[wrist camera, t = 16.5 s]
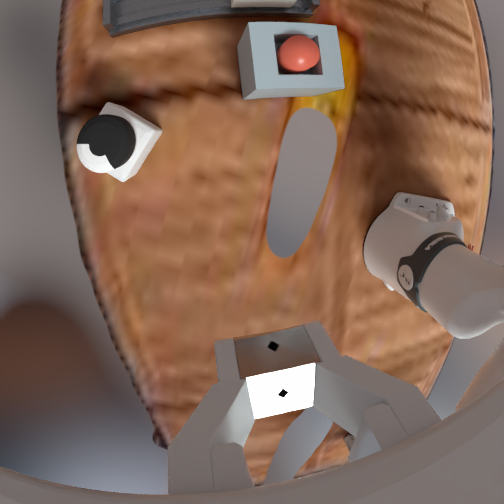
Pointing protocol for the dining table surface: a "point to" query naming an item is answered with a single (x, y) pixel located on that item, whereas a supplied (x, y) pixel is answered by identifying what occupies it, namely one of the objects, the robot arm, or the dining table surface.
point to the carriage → (262, 3)
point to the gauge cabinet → (265, 62)
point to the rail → (185, 12)
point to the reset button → (297, 55)
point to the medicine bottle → (116, 142)
